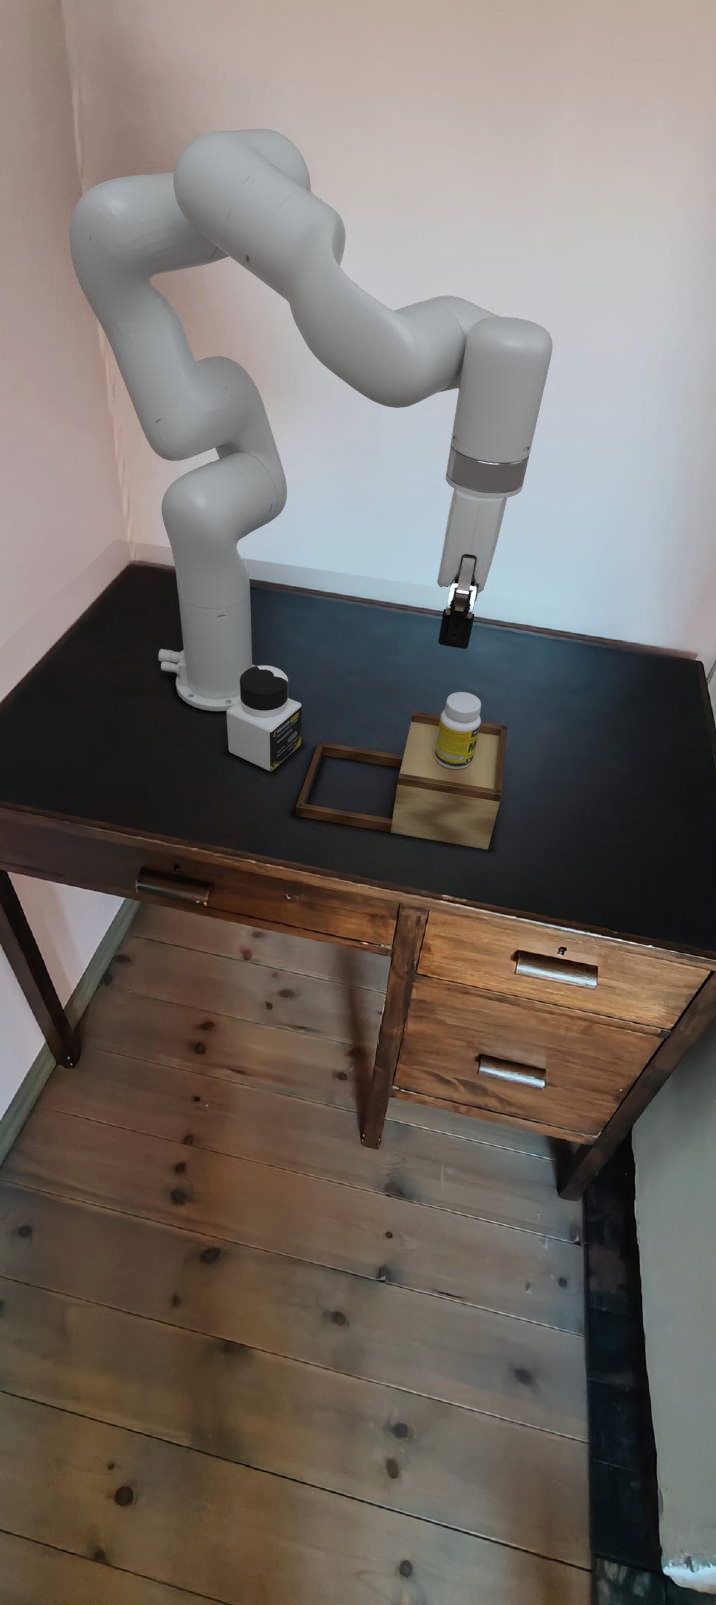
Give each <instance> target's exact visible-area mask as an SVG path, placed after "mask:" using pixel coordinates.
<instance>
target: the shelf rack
mask: <svg viewBox="0 0 716 1605" xmlns="http://www.w3.org/2000/svg"><path fill="white" fill-rule="evenodd" d="M440 718H441V714H435V713H429V712H424V711H417V710H412V714H411V719H410V724H409V730H408V733H407V738H406V743H405V747H404V752H403V755H401V754H395V753H389V752H383V751H377V750H371V749H365V748H360V747H354V746H347V745H341V744H335V743H329V742H324V741H318V742H317V744H316V747H315V751H314V753H313V756H312V759H311V762H310V764H309V768H308V771H307V774H306V777H305V779H304V782H303V785H302V788H301V791H300V794H299V797H298V800H297V802H296V805H295V816H297V817H300V818H307V819H313V820H319V821H323V822H324V821H325V822H330V823H334V824H341V825H347V826H353V827H357V828H363V829H370V830H373V831H380V832H386V833H392V834H398V835H403V836H409V837H415V838H420V839H426V840H430V841H431V840H432V841H436V842H442V843H447V844H454V845H460V846H466V847H470V848H477V849H482V850H489V846H490V843H491V838H492V834H493V830H494V827H495V822H496V819H497V815H498V811H499V807H500V802H501V800H502V794H503V783H504V772H505V771H504V769H505V761H506V760H505V759H506V747H507V736H508V735H507V734H508V726H507V725H504V724H503V725H502V724H497V723H491V722H484V721H481V723H480V728H479V733H478V738H477V743H476V747H475V752H474V756H473V761H472V763H471V764H470V765H469V766H468V767H466V768H463V769H450V768H446V767H444V766H442V765H441V764H439V763H438V762H437V760H436V759H435V754H434V753H435V747H436V741H437V736H438V730H439V724H440ZM323 756H327V757H333V758H339V759H345V760H350V761H356V762H361V763H362V762H363V763H368V764H374V765H379V766H385V767H391V768H396V769H399V773H398V776H397V782H396V784H397V785H396V789H395V790H396V792H395V797H394V805H393V812H392V818H388V817H382V816H377V815H372V814H365V813H360V812H353V811H349V810H343V809H338V808H337V809H336V808H331V807H325V806H320V805H314V804H308V800H309V796H310V794H311V791H312V788H313V786H314V782H315V779H316V777H317V773H318V770H319V767H320V764H321V761H322V758H323Z"/></svg>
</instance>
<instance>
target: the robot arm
mask: <svg viewBox="0 0 716 1605" xmlns="http://www.w3.org/2000/svg"><path fill="white" fill-rule="evenodd" d="M174 166H175V167H174V170H173V171H169V172H161V173H160V172H159V173H150V174H149V173H148V174H147V173H146V174H135V175H128V176H121V177H120V176H119V177H115V178H112V179H108V180H105V181H102V182H100V183H98V184H95V185H94V186H92V187H90V188H89V189H88V190H86V192H84V193H83V194H82V195H81V197H80V198H79V200H78V201H77V203H76V205H75V206H74V208H73V211H72V214H71V217H70V225H69V237H68V238H69V252H70V256H71V261H72V266H73V270H74V273H75V276H76V278H77V281H78V284H79V286H80V288H81V291H82V293H83V295H84V296H85V299H86V301H87V302H88V304H89V306H90V308H91V310H92V312H93V314H94V315H95V317H96V319H97V321H98V322H99V324H100V326H101V328H102V330H103V332H104V335H105V336H106V339H107V340H108V343H109V346H110V348H111V351H112V353H113V356H114V358H115V361H116V365H117V367H118V370H119V373H120V375H121V377H122V380H123V383H124V385H125V388H126V391H127V393H128V396H129V398H130V401H131V403H132V406H133V409H134V411H135V414H136V416H137V419H138V421H139V424H140V427H141V429H142V432H143V434H144V436H145V438H146V441H147V442H148V444H149V446H150V448H151V449H152V451H153V452H154V453H155V454H156V455H157V456H158V457H159V458H161V459H163V460H167V461H170V462H179V461H183V460H187V459H190V458H193V457H196V456H199V455H201V454H204V453H206V452H208V451H212V450H213V449H215V451H216V454H217V456H218V459H216V460H212V461H209V462H207V463H205V464H203V465H201V466H199V467H196V468H194V469H192V470H190V471H188V472H186V473H184V474H182V475H181V476H179V477H178V478H176V479H175V480H174V481H173V482H171V484H170V485H169V486H168V488H167V489H166V491H165V492H164V494H163V497H162V501H161V517H162V522H163V526H164V529H165V531H166V535H167V539H168V541H169V545H170V547H171V552H172V558H173V563H174V570H175V578H176V586H177V587H176V588H177V594H178V595H177V596H178V605H179V614H180V615H179V616H180V626H181V638H182V646H183V647H182V648H183V649H182V650H181V651H174V650H171V649H164V648H160V649H159V651H158V656H157V657H158V659H157V660H158V662H159V663H161V664H160V671H162V672H167V673H175V674H176V678H175V687H176V688H175V689H176V692H177V694H178V696H179V698H181V699H182V701H184V702H185V703H186V704H188V705H190V706H191V707H193V708H197V709H200V710H203V711H209V712H227V710H228V709H229V708H230V707H232V706H233V705H234V704H235V703H237V702H238V701H239V700H240V677H241V675H242V674H243V673H244V672H245V671H246V670H248V669H249V668H252V667H255V666H256V665H255V664H253V642H252V608H251V582H250V581H251V580H250V575H249V573H250V572H249V569H248V566H247V564H246V562H245V560H244V559H243V557H242V556H241V554H240V553H239V550H238V546H237V545H238V543H239V541H240V540H242V539H243V538H245V537H247V536H248V535H249V534H251V533H252V532H254V531H257V530H258V529H260V528H262V527H263V526H265V525H267V524H269V523H270V522H272V521H274V520H275V519H276V518H278V517H279V515H280V514H281V513H282V512H283V510H284V508H285V506H286V503H287V499H288V486H287V485H288V484H287V479H286V475H285V471H284V468H283V463H282V461H281V456H280V453H279V451H278V450H279V449H278V448H277V447H278V446H277V444H276V441H275V437H274V434H273V431H272V427H271V424H270V421H269V418H268V414H267V411H266V408H265V405H264V400H263V399H262V396H261V393H260V391H259V388H258V386H257V385H256V382H255V381H254V379H253V378H252V377H251V375H250V374H249V373H248V371H247V370H246V369H245V368H244V367H243V366H242V365H241V364H240V363H238V362H237V361H236V360H234V359H232V358H229V357H226V356H223V355H222V356H221V355H220V356H219V355H218V356H209V357H205V358H201V359H199V360H197V359H196V357H195V355H194V353H193V350H192V347H191V345H190V343H189V339H188V336H187V332H186V329H185V327H184V323H183V322H182V320H181V318H180V316H179V314H178V313H177V310H175V308H174V307H173V305H172V303H170V301H169V300H168V299H167V297H165V295H164V294H163V293H161V291H159V289H157V287H155V286H154V285H153V283H152V279H153V277H154V276H156V275H162V274H166V273H172V272H176V271H181V270H187V269H190V268H195V267H202V266H205V265H210V264H213V263H215V262H219V261H222V260H224V259H226V258H228V257H230V258H231V259H232V260H234V261H235V262H236V263H238V264H239V265H240V266H241V267H243V268H244V269H246V270H247V271H248V272H249V273H250V274H252V275H253V276H255V277H256V278H257V279H258V280H260V281H261V282H263V283H264V284H265V285H266V286H268V287H269V288H270V289H272V290H273V291H274V292H275V293H277V294H278V295H279V296H281V298H283V299H284V300H286V301H287V302H288V304H289V308H290V312H291V316H292V319H293V320H294V321H293V322H294V324H295V325H296V327H297V330H298V331H299V333H300V335H301V337H302V339H303V341H304V343H305V344H306V346H307V347H308V349H309V351H310V352H311V354H313V356H314V357H315V358H316V359H317V360H318V361H319V362H320V363H321V364H322V365H323V366H324V367H325V368H326V369H328V370H329V371H330V372H331V373H332V374H334V375H335V376H337V378H339V379H340V380H342V381H343V382H344V383H346V384H347V385H348V386H349V387H351V388H352V389H353V390H355V391H356V392H358V393H359V394H361V395H362V396H364V397H365V398H366V399H368V400H370V401H372V402H375V403H376V404H379V405H381V406H383V407H388V408H394V409H402V408H407V407H411V406H413V405H415V404H418V403H420V402H422V401H425V400H426V399H428V398H431V396H434V395H436V394H438V393H444V392H447V391H452V390H455V389H458V392H457V393H458V394H457V400H456V406H455V413H454V420H453V426H452V432H451V437H450V438H451V439H450V446H449V452H448V458H447V466H446V471H445V482H447V484H448V485H449V486H450V487H451V488H453V492H452V495H451V499H450V500H451V501H450V506H449V509H448V510H449V511H448V516H447V520H446V521H447V522H446V527H445V533H444V539H443V540H444V541H443V547H442V551H441V552H442V553H441V559H440V563H439V570H438V576H437V581H436V582H437V585H438V587H440V588H443V587H445V588H449V591H448V596H447V601H446V606H445V608H443V612H442V616H441V623H440V627H439V628H440V629H439V634H438V641H437V642H438V644H439V645H440V646H445V647H451V648H457V649H462V650H467V649H468V648H469V644H470V641H471V640H470V639H471V635H472V630H473V626H474V620H475V613H473V612H474V608H475V603H476V602H477V599H478V594H480V593H482V592H483V591H484V589H485V586H486V583H487V580H488V577H489V573H490V569H491V567H492V563H493V559H494V556H495V552H496V549H497V545H498V542H499V541H498V540H499V537H500V532H501V528H502V523H503V519H504V515H505V510H506V506H507V501H508V499H509V498H513V497H514V496H517V495H518V494H519V493H521V492H522V489H523V486H524V481H525V478H526V472H527V468H528V463H529V458H530V454H531V450H532V446H533V441H534V436H535V432H536V427H537V424H538V423H537V422H538V418H539V413H540V410H541V404H542V400H543V395H544V391H545V387H546V386H545V385H546V383H547V379H548V373H549V369H550V364H551V359H552V355H553V339H552V336H551V334H550V332H549V330H548V329H546V328H545V327H544V326H542V325H541V324H539V323H536V322H533V321H531V320H529V319H524V318H518V317H512V316H501V315H498V314H496V313H493V312H491V311H489V310H487V309H484V307H481V306H479V305H477V304H475V303H473V302H471V301H469V300H467V299H464V298H461V297H459V296H454V295H439V296H436V297H432V298H428V299H426V300H423V301H418V302H415V303H411V304H409V305H407V306H402V307H401V308H397V309H394V310H393V309H391V308H390V307H388V306H387V305H385V304H383V303H382V302H381V301H379V300H378V299H376V298H375V297H374V296H373V295H371V294H370V293H368V291H366V290H364V289H363V288H362V287H361V286H359V284H357V283H356V282H355V281H354V280H353V279H351V278H350V277H349V276H348V274H346V273H345V271H344V270H343V269H342V267H341V263H342V260H343V257H344V253H345V249H346V248H345V246H346V240H347V238H346V237H347V234H346V227H345V223H344V221H343V219H342V216H341V215H340V214H339V212H337V211H336V209H335V208H333V207H332V206H331V205H329V204H328V203H327V202H324V201H323V199H321V198H319V197H318V196H317V195H315V194H314V193H313V192H312V190H311V189H312V188H311V186H312V185H311V177H310V172H309V169H308V166H307V163H306V160H305V158H304V156H303V155H302V153H301V152H300V150H299V148H298V147H297V146H296V145H295V143H294V142H292V140H290V139H289V137H286V136H285V135H284V134H282V133H280V132H278V131H276V130H272V129H268V128H250V129H249V128H248V129H236V130H218V131H217V130H216V131H211V132H206V133H204V134H202V135H200V136H197V137H196V138H195V139H193V140H192V141H191V142H189V143H188V144H187V145H185V147H184V149H183V150H182V152H181V153H180V155H179V156H178V158H177V161H176V163H175V165H174Z"/></svg>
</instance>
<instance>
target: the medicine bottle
mask: <svg viewBox="0 0 716 1605" xmlns="http://www.w3.org/2000/svg"><path fill="white" fill-rule="evenodd" d="M302 708H303V705H302V703H301V702H299V701H296V700H294V699H292V698H290V697H289V678H288V676H287V674H286V673H285V672H284V671H283V670H281V669H280V668H278V667H275V666H271V665H265V664H263V665H255V667H252V668H249V669H248V670H246V671H245V672H244V673H243V674H242V675H241V677H240V700H239V701H238V702H237V703H235V704H234V705H233V706H232V707H230V708H229V709H228V710H227V711H226V729H227V744H228V752H229V753H230V754H232V755H234V756H237V757H238V758H241V759H243V760H245V761H247V762H249V763H251V764H254V765H256V766H258V767H260V768H262V769H264V770H266V771H268V772H273V771H274V770H275V769H276V768H277V767H278V766H280V764H281V763H283V762H284V761H285V760H286V759H287V758H288V757H289V756H290V755H291V754H293V753H294V752H295V751H296V750H297V749H298V748H299V747H300V746H301V744H302V717H303V716H302V715H303V714H302V712H303V711H302V710H303V709H302Z"/></svg>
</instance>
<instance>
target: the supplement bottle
mask: <svg viewBox="0 0 716 1605" xmlns="http://www.w3.org/2000/svg"><path fill="white" fill-rule="evenodd" d="M481 708H482V702H481V700H480V699H479V697H478V696H476V695H475V694H473V693H470V692H465V691H456V692H453V693H450V694H449V695H448V697H447V698H446V703H445V708H444V709H443V710H442V711H441V713H440V715H441V718H440V724H439V730H438V736H437V741H436V747H435V753H434V754H435V759H436V760H437V762H438V763H439V764H441V765H442V766H444V767H446V768H450V769H463V768H466V767H468V766H469V765H470V764H471V763H472V761H473V756H474V752H475V747H476V743H477V738H478V733H479V728H480V723H481V722H482V719H481V715H480V714H481Z"/></svg>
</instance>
